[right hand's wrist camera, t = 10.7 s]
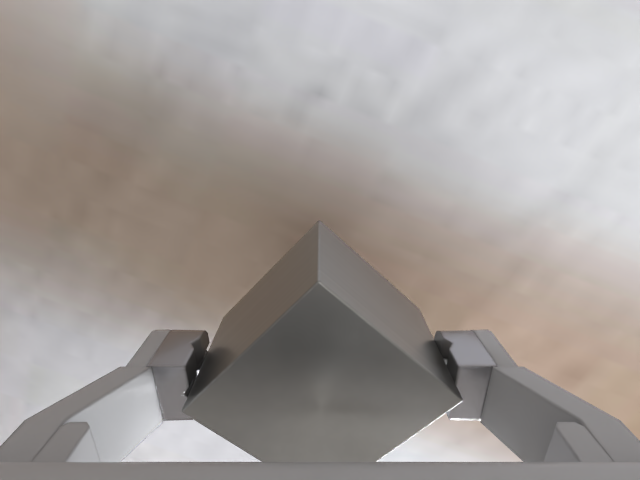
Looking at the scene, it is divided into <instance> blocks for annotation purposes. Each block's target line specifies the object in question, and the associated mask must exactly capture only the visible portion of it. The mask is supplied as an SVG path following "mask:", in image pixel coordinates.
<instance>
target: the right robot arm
mask: <svg viewBox="0 0 640 480" xmlns="http://www.w3.org/2000/svg"><path fill="white" fill-rule="evenodd" d="M434 341H435V343H436V345H437V347H438V349H439V352H440V354H441V355H442V357H443V359H444V361H445V363H446V366H447V368H448V370H449V372H450V374H451V377H452V379H453V381H454V383H455V385H456V386H457V388H458V390H459V392H460V395H461V397H462V399H463V401H462V402H461V403H459V404H458V405H457V406H455V407H454V408H452V409H451V410H449V411H448V412H447V416H448V418H449V420H479V421H480V422H481V423H482V424H483V425H484V426H485V427H486V428H487V429H488V430H490V431H491V432H492V433H493V434H494V435H495V436H496V437H497V438H498V439H499V440H500V441H502V442H503V443H504V444H505V445H506V446H507V447H508V448H509V449H510V450H511V451H512V452H514V453H515V454H516V455H517V456H518V457H519V458H520V459H521V460H522V461H523V462H121V461H122V460H123V459H124V458H125V457H126V456H127V455H128V454H129V453H130V452H132V451H133V450H134V449H135V448H136V447H137V446H138V445H139V444H140V443H141V442H142V441H143V440H144V439H146V438H147V437H148V436H149V435H150V434H151V433H152V432H153V431H154V430H155V429H156V428H157V427H159V426H160V425H161V424H162V423H163V421H165V420H194V419H192V418H190V417H189V416H187V415H186V414H184V413H182V408H183V406H184V404H185V402H186V400H187V397H188V395H189V393H190V391H191V388H192V386H193V384H194V382H195V380H196V377H197V375H198V373H199V371H200V368H201V366H202V364H203V362H204V360H205V357H206V355H207V353H208V351H207V350H206V349H207V347H208V344H209V337H208V333H207V332H206V331H202V330H154V331H152V332H151V333H150V335H149V336H148V337H147V339H146V340H145V341H144V343H143V344H142V345H141V347H140V348H139V350H138V351H137V352H136V354H135V355H134V356H133V358H132V359H131V360H130V362H129V363H128V364H127V366H126V367H119V368H117V369H115V370H114V371H112V372H110V373H108V374H107V375H105V376H103V377H101V378H99V379H98V380H96V381H94V382H92V383H90V384H89V385H87V386H85V387H83V388H82V389H80V390H78V391H76V392H74V393H73V394H71V395H69V396H67V397H65V398H64V399H62V400H60V401H58V402H57V403H55V404H53V405H51V406H49V407H48V408H46V409H44V410H42V411H40V412H39V413H37V414H35V415H33V416H32V417H30V418H28V419H26V420H25V421H24V422H23V423H22V424H21V425H20V426H19V427H18V428H17V429H16V430H15V431H14V432H13V433H12V435H11V436H10V437H9V438H8V439H7V440H6V441H5V442H4V443H3V444H2V445H1V446H0V480H640V441H639V440H638V439H637V438H636V437H635V436H634V434H633V433H632V432H631V431H630V430H629V429H628V428H627V427H626V426H625V425H624V424H623V423H622V422H621V421H620V420H618V419H616V418H615V417H613V416H611V415H609V414H607V413H606V412H604V411H602V410H600V409H598V408H597V407H595V406H593V405H591V404H589V403H588V402H586V401H584V400H582V399H580V398H579V397H577V396H575V395H573V394H571V393H570V392H568V391H566V390H564V389H563V388H561V387H559V386H557V385H555V384H554V383H552V382H550V381H548V380H546V379H545V378H543V377H541V376H539V375H537V374H536V373H534V372H532V371H530V370H528V369H527V368H525V367H518V366H517V365H516V363H515V362H514V361H513V359H512V358H511V357H510V355H509V354H508V353H507V352H506V350H505V349H504V348H503V346H502V345H501V344H500V342H499V341H498V340H497V338H496V337H495V336H494V334H493V333H492V332H491V331H489V330H470V331H436V334H435V337H434Z"/></svg>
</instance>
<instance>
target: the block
mask: <svg viewBox="0 0 640 480" xmlns="http://www.w3.org/2000/svg"><path fill="white" fill-rule="evenodd" d="M462 401H463V399H462V397H461V395H460V392H459V390H458V388H457V386H456V385H455V383H454V381H453V379H452V377H451V374H450V372H449V370H448V368H447V366H446V363H445V361H444V359H443V357H442V355H441V354H440V352H439V349H438V347H437V345H436V343H435V341H434V338H433V336H432V334H431V332H430V330H429V328H428V326H427V324H426V322H425V319H424V317H423V315H422V313H421V311H420V309H419V308H418V307H417V306H416V305H415V304H413V303H412V302H411V301H410V300H409V299H408V298H407V297H406V296H404V295H403V294H402V293H401V292H400V291H399V290H398V289H397V288H395V287H394V286H393V285H392V284H391V283H390V282H389V281H388V280H386V279H385V278H384V277H383V276H382V275H381V274H380V273H379V272H377V271H376V270H375V269H374V268H373V267H372V266H371V265H370V264H368V263H367V262H366V261H365V260H364V259H363V258H362V257H361V256H359V255H358V254H357V253H356V252H355V251H354V250H353V249H352V248H350V247H349V246H348V245H347V244H346V243H345V242H344V241H343V240H341V239H340V238H339V237H338V236H337V235H336V234H335V233H334V232H332V231H331V230H330V229H329V228H328V227H327V226H326V225H325V224H323V223H322V222H321V221H318V222H317V223H316V224H315V225H314V226H313V227H312V228H311V229H310V230H309V231H308V232H307V233H306V234H305V235H304V236H303V237H302V238H301V239H300V240H299V241H298V242H297V243H296V244H295V245H294V246H293V247H292V248H291V249H290V250H289V251H288V252H287V253H286V254H285V255H284V256H283V257H282V258H281V259H280V260H279V261H278V262H277V263H276V264H275V265H274V267H273V268H272V269H271V270H270V271H269V272H268V273H267V274H266V275H265V276H264V277H263V278H262V279H261V280H260V281H259V282H258V283H257V284H256V285H255V286H254V287H253V288H252V289H251V290H250V291H249V292H248V293H247V294H246V295H245V296H244V297H243V298H242V299H241V300H240V301H239V302H238V303H237V304H236V305H235V306H234V307H233V308H232V309H231V310H230V311H229V312H228V313H227V314H226V315H225V316H224V317H223V320H222V322H221V324H220V326H219V328H218V331H217V333H216V335H215V337H214V340H213V342H212V344H211V346H210V348H209V351H208V353H207V355H206V357H205V360H204V362H203V364H202V366H201V368H200V371H199V373H198V375H197V377H196V380H195V382H194V384H193V386H192V388H191V391H190V393H189V395H188V397H187V400H186V402H185V404H184V406H183V408H182V413H184V414H186V415H187V416H189V417H190V418H192V419H194V420H195V421H197V422H199V423H200V424H202V425H203V426H205V427H207V428H208V429H210V430H211V431H213V432H215V433H216V434H218V435H220V436H221V437H223V438H224V439H226V440H228V441H229V442H231V443H232V444H234V445H236V446H237V447H239V448H241V449H242V450H244V451H245V452H247V453H249V454H250V455H252V456H253V457H255V458H257V459H258V460H260V461H262V462H377V461H378V460H380V459H381V458H383V457H384V456H385V455H387V454H388V453H390V452H391V451H393V450H394V449H395V448H397V447H398V446H400V445H401V444H402V443H404V442H405V441H407V440H408V439H410V438H411V437H412V436H414V435H415V434H417V433H418V432H420V431H421V430H422V429H424V428H425V427H427V426H428V425H430V424H431V423H432V422H434V421H435V420H437V419H438V418H439V417H441V416H442V415H444V414H445V413H447V412H448V411H449V410H451V409H452V408H454V407H455V406H457V405H458V404H459V403H461V402H462Z"/></svg>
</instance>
